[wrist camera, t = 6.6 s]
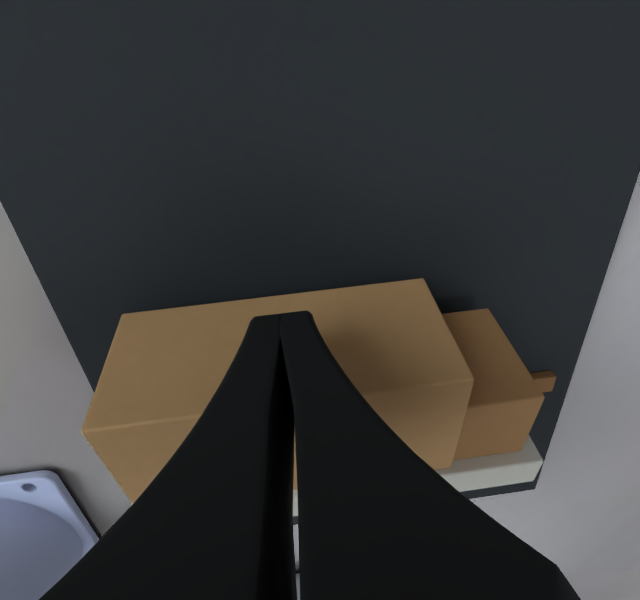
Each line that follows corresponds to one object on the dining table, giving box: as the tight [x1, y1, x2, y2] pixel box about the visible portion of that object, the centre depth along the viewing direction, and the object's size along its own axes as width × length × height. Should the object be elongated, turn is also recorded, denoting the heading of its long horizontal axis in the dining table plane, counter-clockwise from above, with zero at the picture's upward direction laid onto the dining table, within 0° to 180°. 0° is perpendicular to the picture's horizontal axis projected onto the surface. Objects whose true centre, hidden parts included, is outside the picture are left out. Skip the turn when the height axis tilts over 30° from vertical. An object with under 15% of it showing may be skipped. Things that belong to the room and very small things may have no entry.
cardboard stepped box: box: [82, 278, 544, 516], centre depth 13 cm, size 12×5×4 cm, turn 94°
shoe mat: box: [0, 0, 640, 525], centre depth 15 cm, size 18×22×1 cm
